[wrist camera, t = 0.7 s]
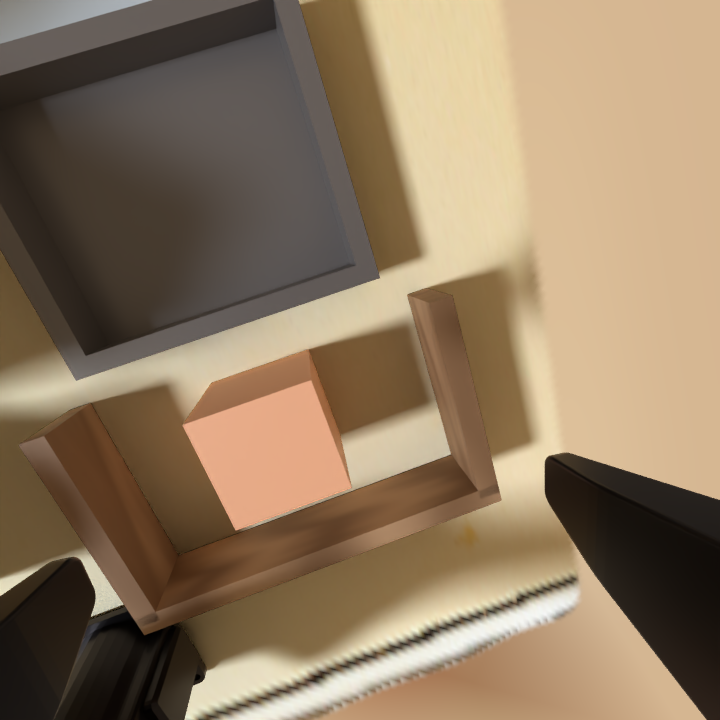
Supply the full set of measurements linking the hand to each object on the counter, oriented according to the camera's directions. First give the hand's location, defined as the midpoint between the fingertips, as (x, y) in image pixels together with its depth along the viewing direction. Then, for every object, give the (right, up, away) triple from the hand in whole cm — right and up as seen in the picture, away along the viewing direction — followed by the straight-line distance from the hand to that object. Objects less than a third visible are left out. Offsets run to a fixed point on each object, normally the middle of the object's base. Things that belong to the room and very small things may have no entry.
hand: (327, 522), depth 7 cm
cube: (-4, +1, +12) cm, 13 cm away
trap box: (-7, +10, +9) cm, 15 cm away
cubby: (-3, -1, +13) cm, 13 cm away
